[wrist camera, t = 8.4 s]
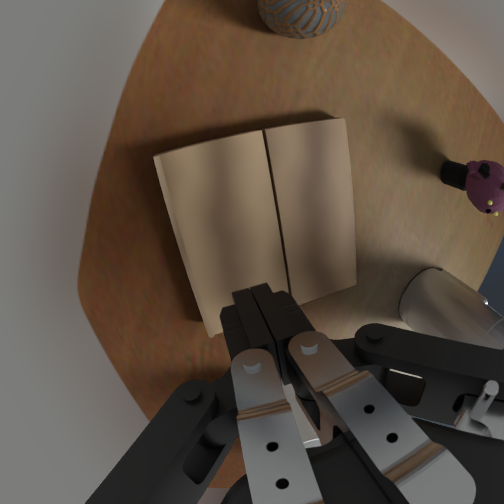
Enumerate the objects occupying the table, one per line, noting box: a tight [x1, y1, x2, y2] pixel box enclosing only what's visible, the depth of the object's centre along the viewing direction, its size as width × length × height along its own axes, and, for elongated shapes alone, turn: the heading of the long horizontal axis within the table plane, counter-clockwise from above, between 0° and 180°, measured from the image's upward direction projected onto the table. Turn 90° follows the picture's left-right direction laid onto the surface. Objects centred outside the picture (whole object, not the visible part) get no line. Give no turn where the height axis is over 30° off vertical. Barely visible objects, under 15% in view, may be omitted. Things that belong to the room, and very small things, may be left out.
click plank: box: [153, 130, 289, 338], centre depth 27 cm, size 9×18×2 cm, turn 10°
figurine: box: [441, 160, 504, 216], centre depth 27 cm, size 8×8×12 cm
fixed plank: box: [259, 118, 356, 305], centre depth 29 cm, size 8×18×2 cm, turn 11°
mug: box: [281, 379, 321, 448], centre depth 34 cm, size 10×7×12 cm, turn 166°
